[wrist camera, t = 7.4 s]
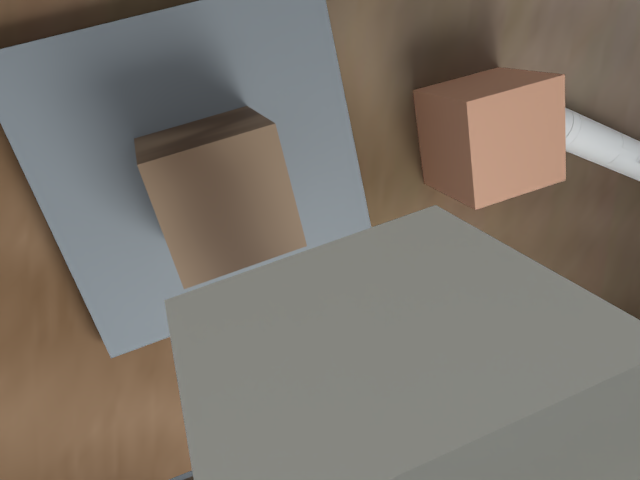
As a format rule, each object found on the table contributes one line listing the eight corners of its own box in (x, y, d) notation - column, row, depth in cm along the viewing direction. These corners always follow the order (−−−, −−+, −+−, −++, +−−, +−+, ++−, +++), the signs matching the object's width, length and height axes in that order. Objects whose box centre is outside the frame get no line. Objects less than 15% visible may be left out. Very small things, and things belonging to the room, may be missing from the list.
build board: (311, -27, 25) (319, -30, 23) (368, 251, 30) (377, 259, 29) (-24, 55, 22) (-31, 56, 21) (111, 345, 27) (111, 358, 26)
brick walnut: (247, 105, 24) (275, 123, 20) (275, 209, 26) (307, 246, 22) (134, 138, 23) (136, 165, 19) (172, 243, 25) (183, 289, 21)
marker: (502, 126, 31) (530, 134, 29) (518, 89, 30) (547, 94, 28) (701, 208, 38) (735, 218, 36) (716, 179, 38) (752, 188, 35)
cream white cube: (435, 205, 10) (683, 344, 6) (465, 413, 12) (663, 635, 8) (163, 299, 9) (207, 562, 5) (247, 510, 11) (330, 830, 7)
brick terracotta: (497, 67, 29) (565, 74, 25) (502, 158, 31) (565, 180, 27) (411, 90, 28) (466, 102, 24) (423, 182, 30) (475, 210, 26)
